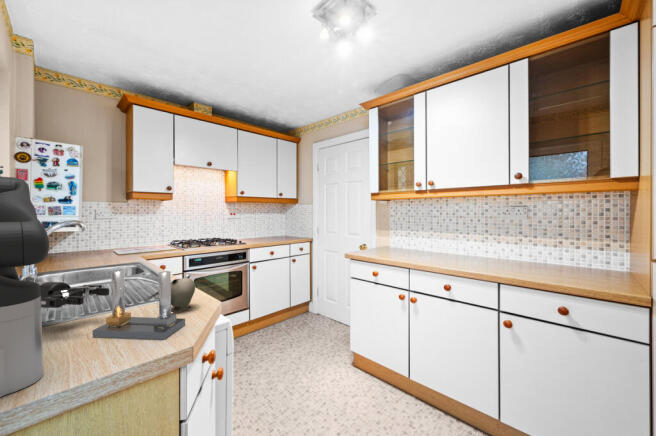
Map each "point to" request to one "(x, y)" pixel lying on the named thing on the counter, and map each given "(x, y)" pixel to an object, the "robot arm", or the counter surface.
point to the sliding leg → (118, 300)
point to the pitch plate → (147, 319)
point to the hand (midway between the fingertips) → (96, 296)
